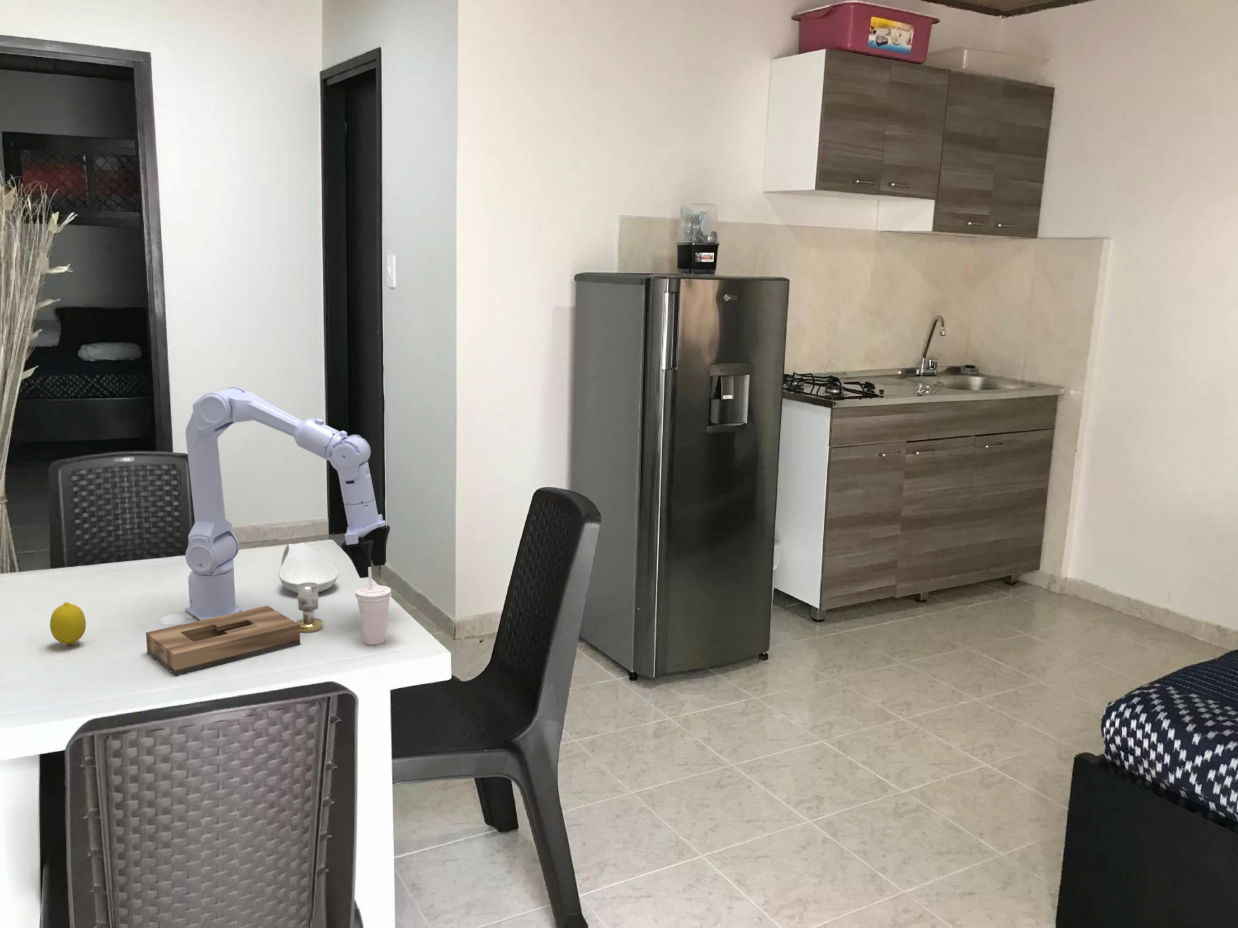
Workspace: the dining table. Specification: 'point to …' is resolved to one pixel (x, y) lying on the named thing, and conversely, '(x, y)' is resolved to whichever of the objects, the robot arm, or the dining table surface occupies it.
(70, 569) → the dining table surface
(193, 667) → the keyhole board
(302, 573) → the spoon rest
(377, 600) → the smoothie
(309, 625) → the peg
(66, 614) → the lemon
